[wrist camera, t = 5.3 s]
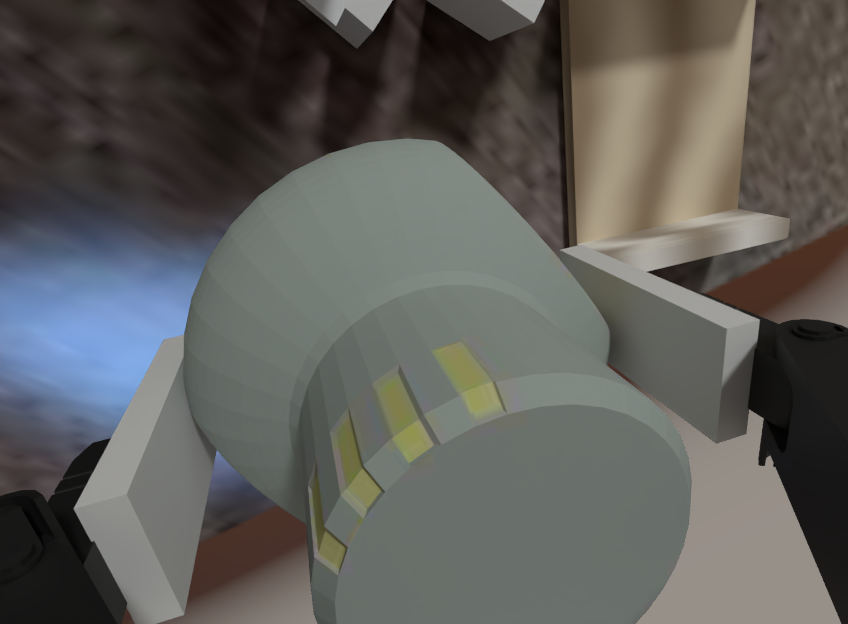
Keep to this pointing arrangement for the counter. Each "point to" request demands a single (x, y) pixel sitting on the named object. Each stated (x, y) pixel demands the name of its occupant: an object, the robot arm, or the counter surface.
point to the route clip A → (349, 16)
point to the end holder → (658, 129)
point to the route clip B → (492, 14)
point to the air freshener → (432, 401)
